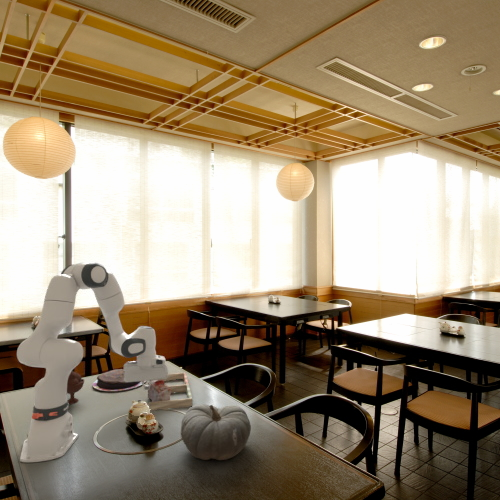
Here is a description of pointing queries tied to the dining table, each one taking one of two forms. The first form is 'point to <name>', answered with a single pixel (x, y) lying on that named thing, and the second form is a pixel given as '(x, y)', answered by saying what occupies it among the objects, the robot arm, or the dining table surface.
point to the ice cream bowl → (74, 386)
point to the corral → (174, 388)
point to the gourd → (215, 431)
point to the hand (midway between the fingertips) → (146, 389)
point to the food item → (159, 391)
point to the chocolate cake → (114, 382)
